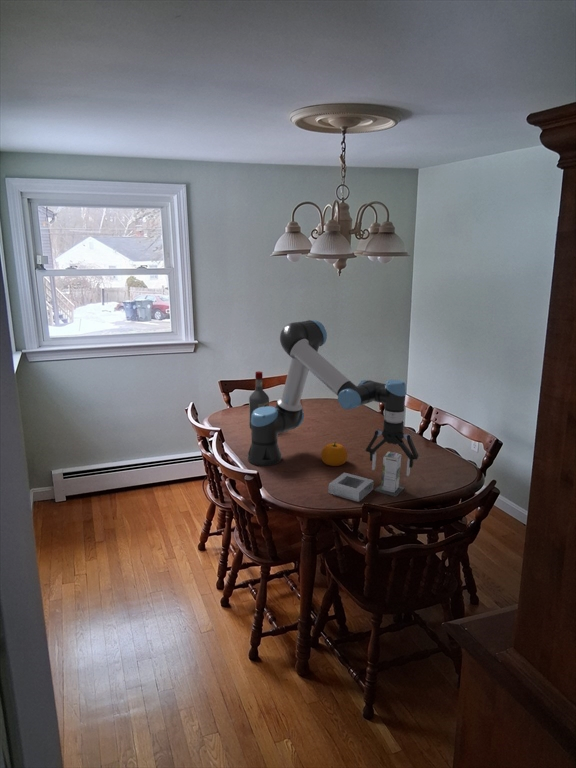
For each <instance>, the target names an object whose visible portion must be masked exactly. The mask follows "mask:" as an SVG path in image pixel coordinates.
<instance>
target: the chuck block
mask: <svg viewBox="0 0 576 768" xmlns="http://www.w3.org/2000/svg"><path fill="white" fill-rule="evenodd" d="M374 482H375V481H374V479H370V478H366V477H363V476H359V475H356V474H355V475H354V474H351V473H347V472H343V473H341V474H340V475H339V476H338V477H336V478H334V479H333V480H331V482H329V483H328V494H329V495H332V494H333V496H337V497H339V498H344V499H347V500H350V501H353V502H356V503H357V502H358V503H360V501H362V500H363V499H364V498H365V497H366V496H368V494H369V493H371V492H372V491H373V490H374Z"/></svg>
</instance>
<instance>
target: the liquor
mask: <svg viewBox="0 0 576 768" xmlns="http://www.w3.org/2000/svg"><path fill="white" fill-rule="evenodd" d="M254 374H255V378H254V379H255V389H254V390H253V392H252V393H251V394H250V395H249V397H248V402H249V403H248V409H249V410H248V413H249V417H248V418H249V422H248V423H249V425H248V426H249V427H250V428H249V429H251V416H252V412H253V411H254V410H255V409H257V408H260V407H266V406H270V397H269V395H268V394H267V393H266V392H265V391H264V389H263V376H264V375H263V371H255V373H254Z"/></svg>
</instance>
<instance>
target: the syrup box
mask: <svg viewBox="0 0 576 768" xmlns="http://www.w3.org/2000/svg"><path fill="white" fill-rule="evenodd" d="M401 464H402V454H401V453H397V452H393V451H387V453H385V454H384V456H383V458H382V470H381V471H382V473H381V484H380V485H381V490H384V491H389V492H394V493H395V492H396V490H397V489H398V487H399V486H400V476H401V466H402V465H401Z"/></svg>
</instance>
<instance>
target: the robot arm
mask: <svg viewBox="0 0 576 768" xmlns="http://www.w3.org/2000/svg"><path fill="white" fill-rule="evenodd" d="M327 333H328V332H327V329H326V328H325V325H324V324H323V323H322V322H320V321H319V320H315V319H313V320H312V319H308V320H304V321H303V320H302V321H296V322H290V323H288V324H286V325H285V326H284V327H283V328H282V330H281V332H280V335H279V341H280V345H281V347H282V349H283V351H284V352H285V353H286V354H287V355H288V356H289V357H290V358H291V360H290V363H289V368H288V372H287V374H286V375H287V376H286V379H285V383H284V387H283V391H282V395H281V397H280V398H278V399H277V401H276V403H275V404H276V405H275V407H274V406H273V405H272V406H270V405H269V406H266V407H260V408H257V409H255V410H254V411H253V412H252V416H251V428H250V429H251V435H250V436H251V443H250V447H249V449H248V452H247V461H248V463H251V464H253V465H255V466H262V467H263V466H266V467H267V466H272V465H277V464H279V463H280V462H281V461H282V453H281V450H280V447H279V444H278V443H279V442H278V435H279V434H282V433H285V432H288V431H290V430H291V431H292V430H295V429H296V428H298V427H299V426H301V425H302V424H303V422H304V417H305V413H304V409H303V406H302V403H301V399H302V395H303V393H304V388H305V385H306V382H307V378H308V373H309V371H310V372H311V374H313V375H314V376H315V377H316V379H318V380H319V381H321V382H322V384H324V385H325V386H326V387H327V388H328V389H329V390H330V391H332V392H333V394H335V396H337V402H338V403H339V406H340V407H341V408H342V409H344V410H353V409H357V408H358V407H360V406H364V405H366V404H370V403H373V402H376V403H379V404H384V412H383V419H384V420H383V429H382V430H380V429H379V428H377V429H375V431H374V435H373V437H372V438H371V440H370V442H369V444H368V445H367V447H366V449H365V452H368V453H369V460H370V462H372V463H371V471H374V470H375V469H376V464H377V463H376V462H377V450H378V449H379V448H381V447H382V446H383V445H385V443H388V444H392V445H397V446H399V447H400V449H401V450H402V451H403V453H404V454H405V455H406V457H407V463H406V476H407V477H409V476H410V472H411V468H413V466H414V460H418V459H419V456H420V455H419V453H418V450H417V448H416V446H415V444H414V441H413V440H412V433H408V434H407V433H406V434H405V433H404V425H405V423H404V420H405V412H406V411H405V410H406V409H405V406H406V405H405V404H406V396H407V391H406V390H407V385H406V381H404V380H401V379H389V380H387V381H386V382H385V383H382V382H378V381H373V380H371V379H362V380H360V382H359V383H358V384H357V385H356V384H354V383H353V382H352V381H351V380H350V379H349V378H348V377H346V376H345V375H344V374H343V373H342V372H341V371H340V370H338V368H337V367H335V366H334V365H333V364H332V363H330V362H329V361H328V359H326V358H324V356H323V355H322V354H320V352H319V349H320V347H322V346H323V345H325V344H326V342H327V337H328V335H327ZM380 436H382V437H383V439H381V440H380V442H378V443H377V444H376V445H375V446H374V447H373V445H374V443H375V441H376V440H377V439H378V437H380ZM404 438H405V440H406V441H407V444H408V446H407V445H406V443H405V442H404V440H403V439H404ZM372 447H373V448H372ZM408 447H409V448H410V449H409V448H408Z"/></svg>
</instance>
